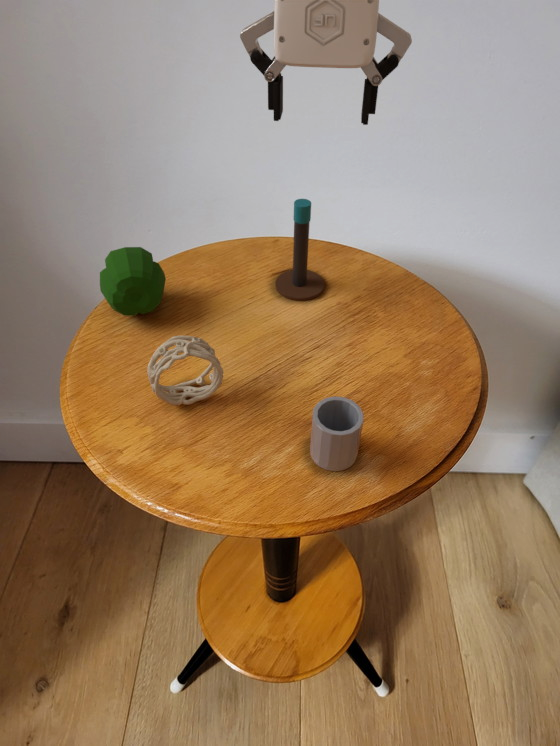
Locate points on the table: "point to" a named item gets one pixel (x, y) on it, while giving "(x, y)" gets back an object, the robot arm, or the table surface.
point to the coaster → (299, 293)
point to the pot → (336, 433)
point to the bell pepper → (132, 281)
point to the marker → (301, 241)
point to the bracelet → (190, 349)
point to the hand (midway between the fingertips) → (321, 118)
